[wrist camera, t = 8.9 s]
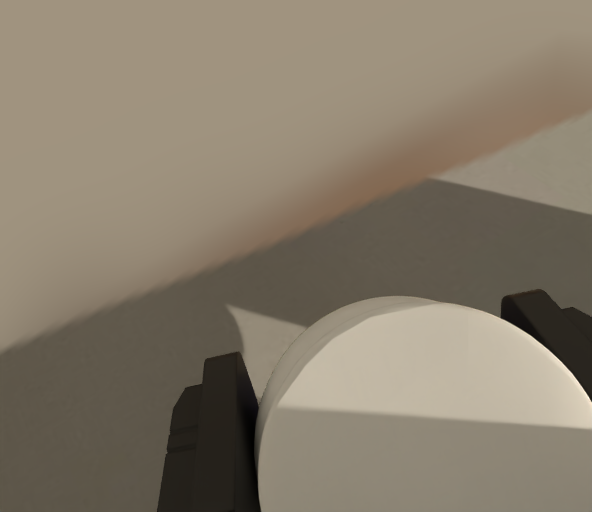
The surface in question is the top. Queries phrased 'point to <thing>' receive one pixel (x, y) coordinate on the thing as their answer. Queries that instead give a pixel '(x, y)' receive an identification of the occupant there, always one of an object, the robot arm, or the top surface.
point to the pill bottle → (421, 416)
